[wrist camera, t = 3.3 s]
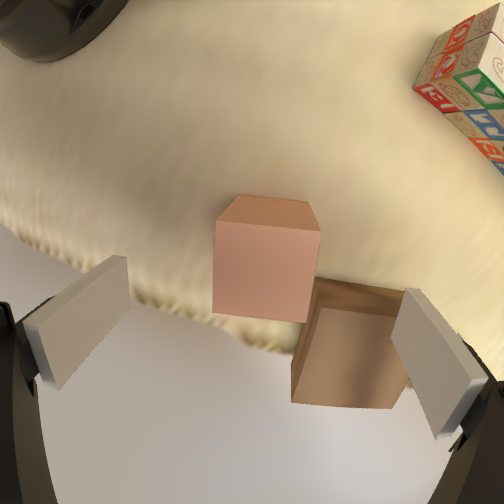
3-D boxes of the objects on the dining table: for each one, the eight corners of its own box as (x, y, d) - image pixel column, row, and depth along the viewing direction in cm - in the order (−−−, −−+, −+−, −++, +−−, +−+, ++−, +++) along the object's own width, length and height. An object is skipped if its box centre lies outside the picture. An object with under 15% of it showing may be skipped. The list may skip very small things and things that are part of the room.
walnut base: (290, 363, 27) (291, 402, 22) (314, 275, 24) (321, 307, 19) (379, 372, 26) (391, 408, 22) (414, 291, 23) (437, 322, 19)
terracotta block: (234, 259, 24) (212, 312, 16) (238, 194, 22) (215, 220, 15) (299, 266, 23) (306, 323, 16) (308, 201, 22) (321, 231, 14)
